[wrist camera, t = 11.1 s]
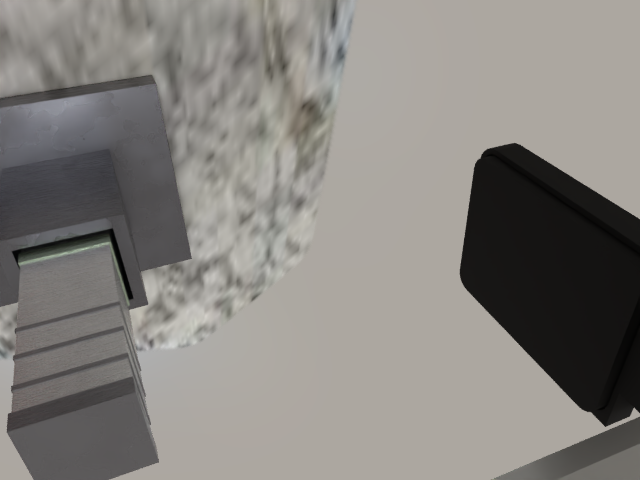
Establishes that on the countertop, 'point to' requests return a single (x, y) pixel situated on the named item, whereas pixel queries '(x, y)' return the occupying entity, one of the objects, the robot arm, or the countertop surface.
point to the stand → (89, 178)
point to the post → (77, 365)
